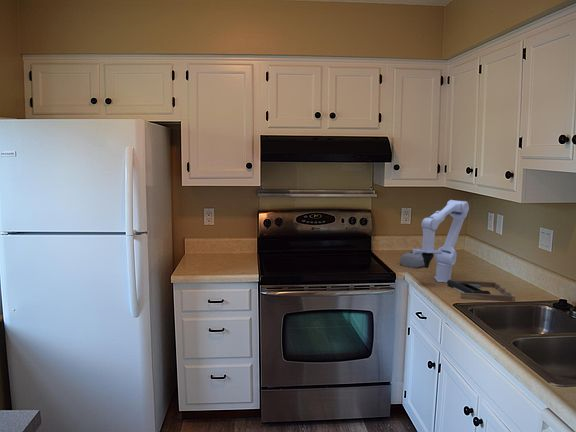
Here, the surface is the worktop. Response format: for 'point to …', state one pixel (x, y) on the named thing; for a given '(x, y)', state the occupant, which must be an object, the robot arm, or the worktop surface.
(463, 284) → the door handle
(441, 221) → the robot arm
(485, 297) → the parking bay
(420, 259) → the grey rounded bag
